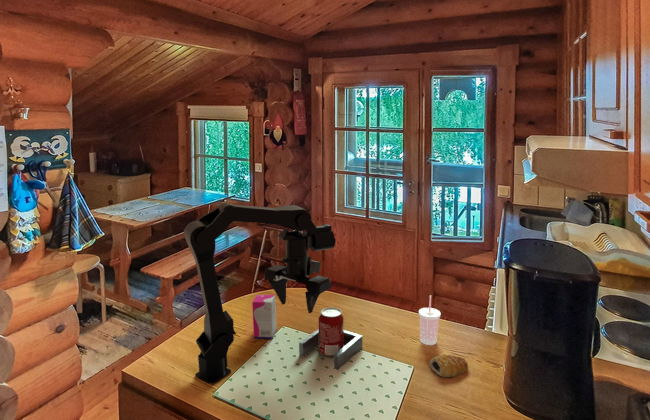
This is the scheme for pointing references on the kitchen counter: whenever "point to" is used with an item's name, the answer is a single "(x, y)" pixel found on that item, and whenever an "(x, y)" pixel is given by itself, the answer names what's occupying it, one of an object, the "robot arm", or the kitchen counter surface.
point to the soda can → (330, 331)
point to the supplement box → (264, 316)
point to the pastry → (448, 365)
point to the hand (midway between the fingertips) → (296, 308)
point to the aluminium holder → (342, 356)
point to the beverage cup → (429, 324)
